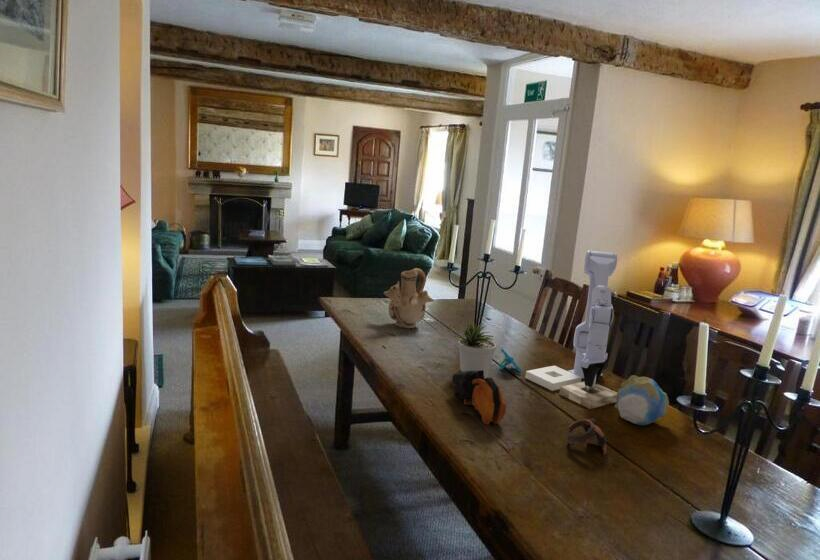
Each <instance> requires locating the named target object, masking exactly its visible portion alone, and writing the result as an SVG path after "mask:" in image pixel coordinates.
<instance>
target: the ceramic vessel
mask: <svg viewBox="0 0 820 560" xmlns="http://www.w3.org/2000/svg"><path fill="white" fill-rule="evenodd" d="M418 276H419V282H418V286H417V288H416V285H417V284H416V283H417V280H418V279H417V278H418ZM400 278H401V286H400V281H399V280H397V283H396V284H395V285H394V284H393V286H391V287H390V288H389V290H387V291H386V290H385V291H384V292H383V295H384V296H386V297H387V298H388V299H389V303H388V310H387V311H388V315H389V317H390V318H391V319H392V320H393V321H395V326H396V325H397V327H398V326H399V328H402V327H404V329H410V328H412V329H414V327H415V328H416V326H417V323H419V322H422V320H423V319H424V316H425V313H426V307H427V305H426V304H427V303H431V302H434V301H435V299H434V298H433V297H431V296H430V295H429V293H428V290H424V288H425V285H426V281H427V280H426V279H427V276H426V274H425V272H424V271H423V270H422V269H421V268H417V267H416V268H415V267H414V268H413V269H411V270H404V271H402V272H401V273H400Z"/></svg>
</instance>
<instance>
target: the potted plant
mask: <svg viewBox="0 0 820 560" xmlns="http://www.w3.org/2000/svg"><path fill="white" fill-rule="evenodd" d="M466 321H467V326H466V329H465V328H464V327H462V326H461V325H459V327H460V328H461V329H462V331H463V335H464V336H465V337H463V336H461V335H459V334H456V336H457V337H458V338H460V339H458V338H457V337H456V338H455V337H454V339H455V340H457V343H458V349H459V367H460V370H459V371H461V372H463V371H480V370H484V377H485V378H488V375H489V372H490V369H491V368H490V367H491V364H492V361H493V357H494V354H495V351H496V348H497V343H495V342H494V339H493V335H488V334H487V333H489V334H490V333H491V331H483V332H482V330H484V328H485V329H486V327H487V325H486V324H485V325H483V323H481V324H479V325H478V326H477V325H476V323H475V324H473V320H471V321H469V320H468V319H467V320H466ZM473 325H474V326H473ZM476 326H477V327H476ZM485 333H486V334H487V335H486V334H485ZM485 378H484V379H485Z"/></svg>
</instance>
